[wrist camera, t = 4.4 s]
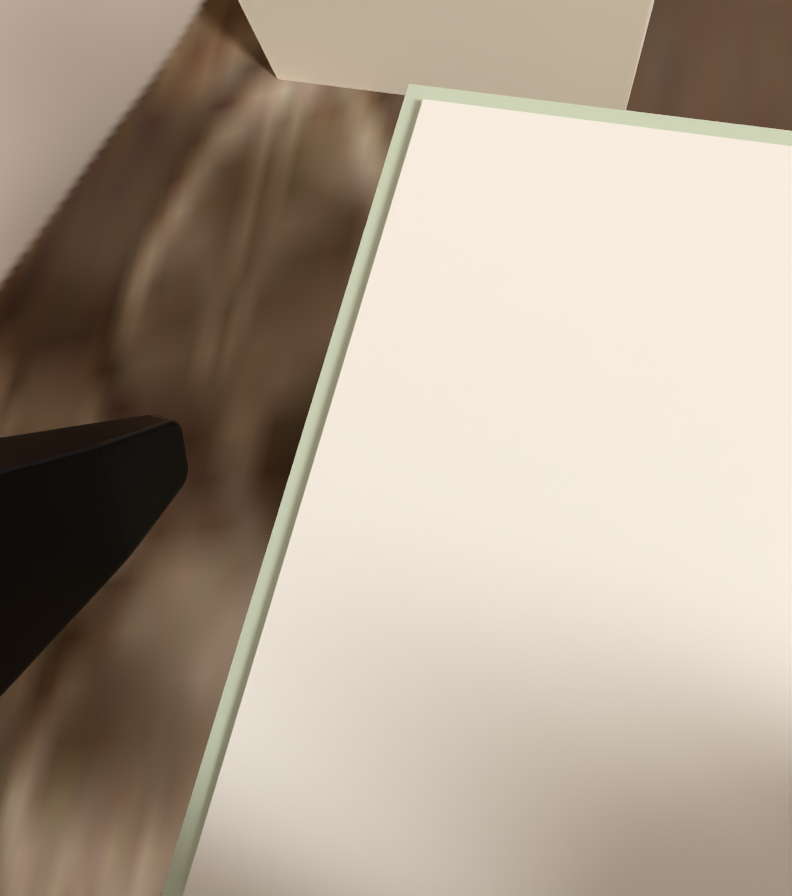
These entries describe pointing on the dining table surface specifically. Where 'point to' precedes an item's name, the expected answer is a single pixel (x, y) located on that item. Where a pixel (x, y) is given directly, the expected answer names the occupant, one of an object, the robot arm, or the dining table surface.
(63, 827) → the dining table surface
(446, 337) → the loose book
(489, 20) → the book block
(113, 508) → the robot arm
